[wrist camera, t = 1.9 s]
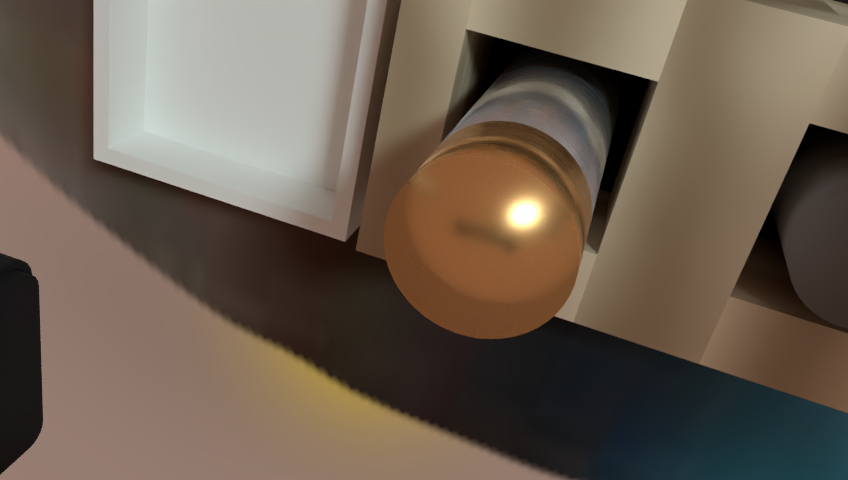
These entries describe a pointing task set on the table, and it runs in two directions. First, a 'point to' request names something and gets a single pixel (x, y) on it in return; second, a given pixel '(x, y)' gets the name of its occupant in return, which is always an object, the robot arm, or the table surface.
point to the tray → (247, 100)
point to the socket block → (674, 169)
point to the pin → (506, 200)
